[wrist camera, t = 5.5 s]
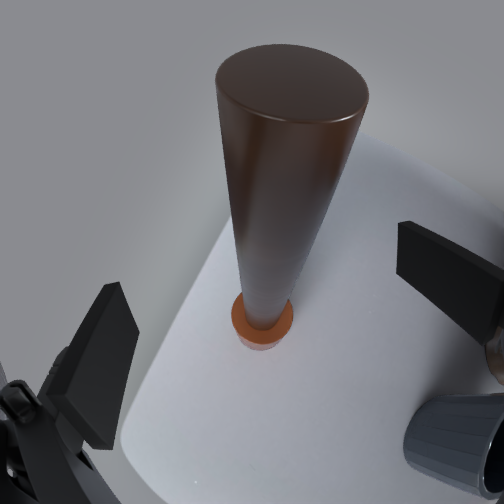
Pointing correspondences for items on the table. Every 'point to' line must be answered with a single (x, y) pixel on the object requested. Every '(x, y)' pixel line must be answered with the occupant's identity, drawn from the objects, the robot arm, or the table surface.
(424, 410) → the blue-grey cylindrical holder
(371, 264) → the table surface
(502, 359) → the plant pot
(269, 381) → the table surface
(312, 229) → the brown rod
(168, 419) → the table surface
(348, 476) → the table surface
